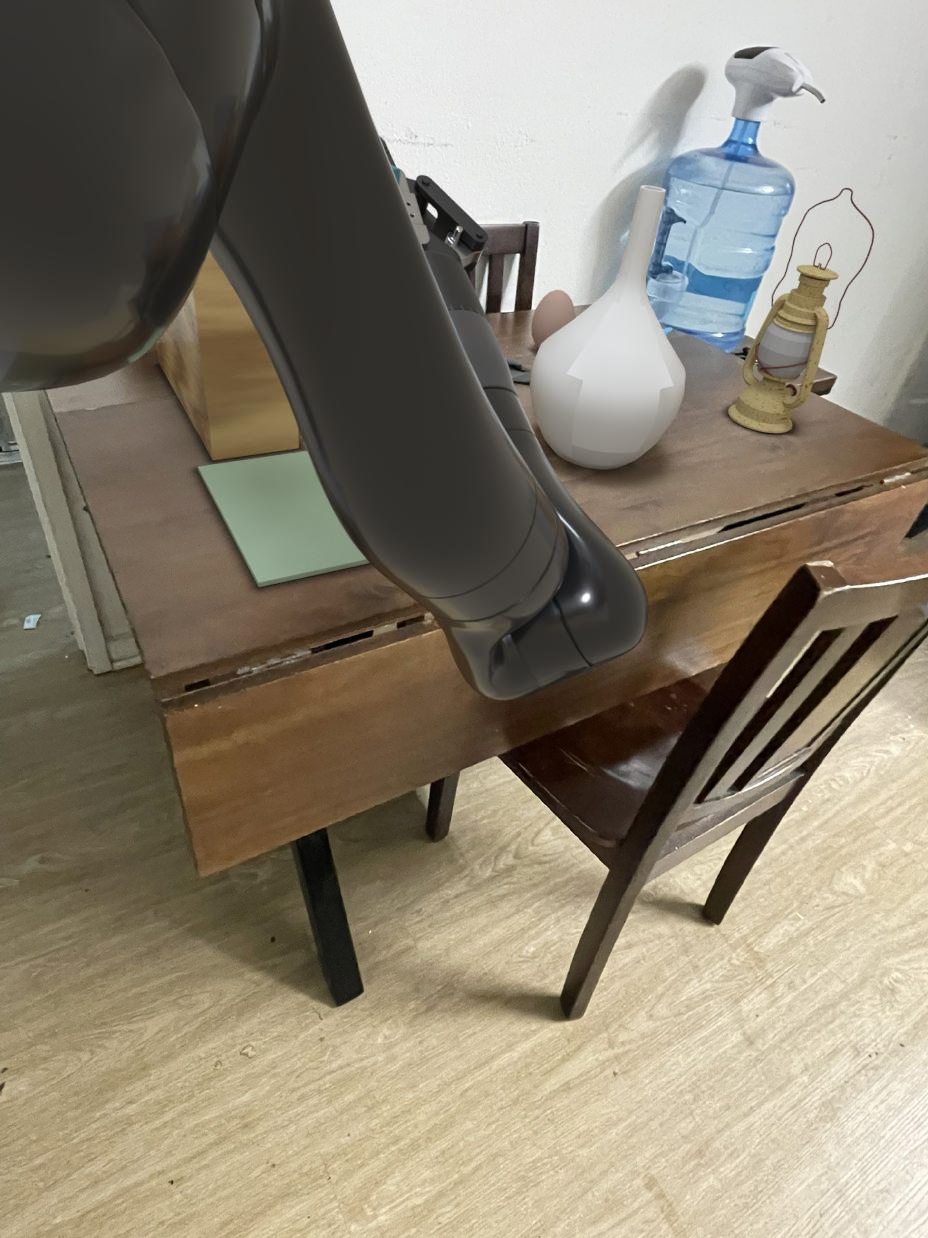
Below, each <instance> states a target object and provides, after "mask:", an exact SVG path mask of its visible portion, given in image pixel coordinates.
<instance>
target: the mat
mask: <svg viewBox="0 0 928 1238" xmlns="http://www.w3.org/2000/svg"><path fill="white" fill-rule="evenodd" d="M197 471H198V474H199V476H200V477H201V479H202V481H203V483H204V485H205V488H206V489H207V491H208V493H209V495H210V497H211V499H212V501H213V502H214V504H215V506H216V509H217V510H218V512H219V514H220V517H221V518H222V520H223V522H224V523H225V526H226V527H227V530H228V531H229V533H230V535H231V537H232V539H233V541H234V543H235V545H236V547H237V548H238V550H239V553H240V555H241V556H242V558H243V560H244V563H245V564H246V566H247V568H248V570H249V571H250V574H251V575H252V578H253V579H254V581H255V583H256V586H257V587H258V588H263V587H267V586H272V585H276V584H280V583H286V582H290V581H294V580H299V579H304V578H309V577H312V576H317V575H323V574H326V573H332V572H336V571H340V570H344V569H349V568H355V567H358V566H363V565H367V564H371V563H370V562H369V561H368V560H367V559H366V558H365V557H364V556H363V554H362V553H361V552H360V551H359V550H358V548H357V547H356V546H355V545H354V543H353V542H352V541H351V539H350V538H349V537H348V535H347V534H346V532H345V530H344V529H343V527H342V526H341V524H340V522H339V520H338V519H337V517H336V515H335V513H334V511H333V509H332V507H331V505H330V503H329V501H328V499H327V497H326V495H325V493H324V491H323V489H322V487H321V484H320V482H319V480H318V478H317V475H316V473H315V470H314V468H313V465H312V462H311V460H310V457H309V455H308V452H307V450H304V451H295V452H290V453H283V454H275V455H270V456H269V455H268V456H262V457H256V458H248V459H241V460H235V461H228V462H219V463H214V464H207V465H200V466H197Z"/></svg>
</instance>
